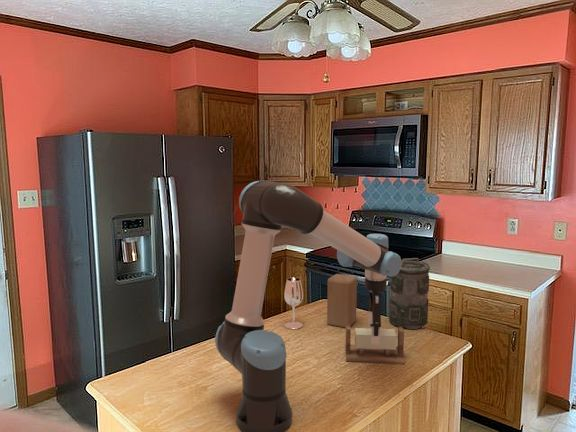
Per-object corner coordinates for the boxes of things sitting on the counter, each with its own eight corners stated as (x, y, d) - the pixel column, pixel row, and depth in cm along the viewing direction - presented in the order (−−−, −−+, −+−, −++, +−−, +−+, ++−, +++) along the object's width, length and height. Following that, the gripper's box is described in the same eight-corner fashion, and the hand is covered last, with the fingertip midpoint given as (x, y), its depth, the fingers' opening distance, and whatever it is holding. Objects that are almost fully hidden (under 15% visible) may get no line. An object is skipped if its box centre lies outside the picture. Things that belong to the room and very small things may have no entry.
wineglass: (282, 328, 185) (281, 281, 183) (287, 321, 193) (287, 276, 190) (300, 330, 183) (300, 282, 180) (305, 323, 191) (305, 277, 188)
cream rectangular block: (396, 349, 157) (396, 336, 156) (355, 348, 158) (356, 334, 158) (393, 342, 163) (394, 329, 162) (354, 341, 164) (355, 328, 164)
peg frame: (405, 364, 154) (406, 336, 152) (346, 361, 156) (346, 334, 154) (399, 347, 167) (400, 322, 165) (345, 345, 169) (345, 320, 167)
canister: (400, 331, 181) (403, 264, 177) (382, 317, 197) (384, 255, 192) (435, 327, 186) (438, 261, 182) (414, 314, 201) (416, 253, 197)
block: (326, 324, 189) (326, 278, 186) (335, 317, 198) (335, 272, 195) (348, 329, 184) (349, 282, 181) (356, 321, 193) (357, 275, 190)
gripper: (391, 289, 144) (388, 351, 147) (382, 269, 169) (380, 323, 172) (367, 288, 145) (365, 350, 148) (362, 268, 170) (360, 322, 173)
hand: (373, 336), depth 160 cm, fingers open, 13 cm apart
